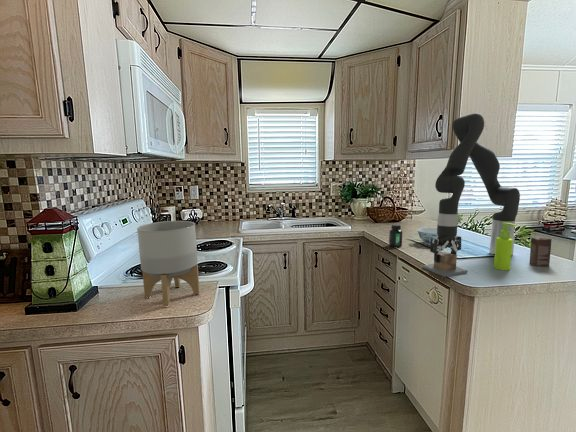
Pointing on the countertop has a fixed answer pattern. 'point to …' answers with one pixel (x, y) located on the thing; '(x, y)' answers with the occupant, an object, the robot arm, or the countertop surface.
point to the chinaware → (428, 234)
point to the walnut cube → (446, 261)
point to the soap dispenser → (503, 248)
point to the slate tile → (445, 273)
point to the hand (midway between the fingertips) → (444, 261)
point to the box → (540, 251)
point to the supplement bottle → (395, 236)
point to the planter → (168, 256)
